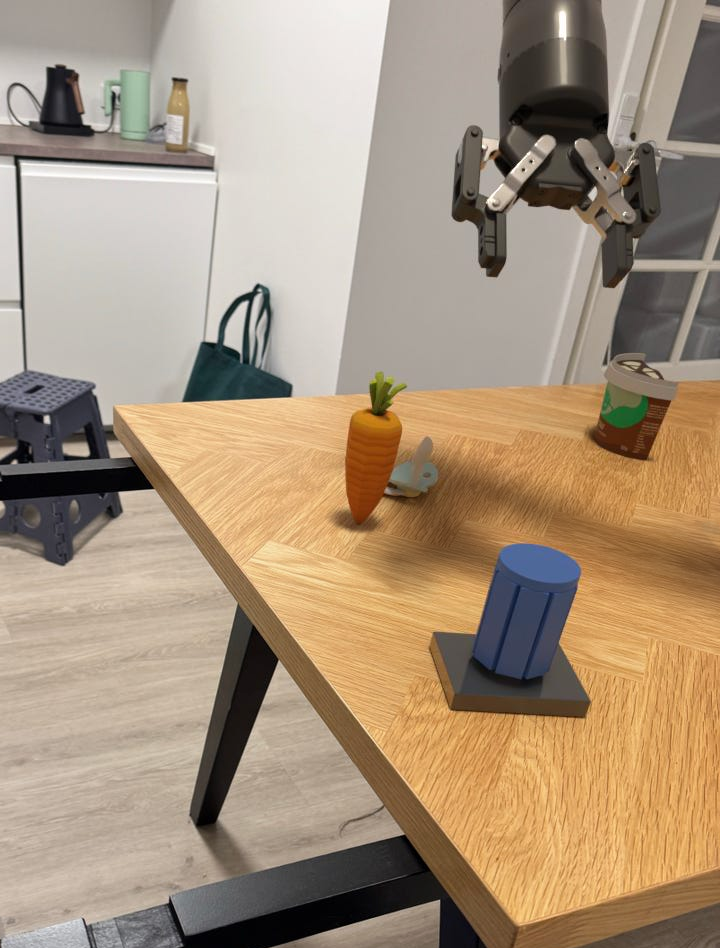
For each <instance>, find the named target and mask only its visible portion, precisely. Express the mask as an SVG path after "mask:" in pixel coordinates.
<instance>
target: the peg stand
mask: <svg viewBox="0 0 720 948" xmlns="http://www.w3.org/2000/svg"><path fill="white" fill-rule="evenodd" d="M475 636H476V633H466V632H450V631H435V630H434V631H432V634H431V637H430V642H429V649H430V652H431V655H432V658H433V661H434V663H435V664H434V665H435V668H436V670H437V673H438V676H439V679H440V683H441V685H442V687H443V691H444V694H445V696H446V700H447V703H448V705H449V709H450V710H453V711H454V710H455V711H471V712H491V713H507V714H525V715H542V716H557V717H558V716H560V717H574V718H585V717H586V716H587V713H588V711H589V708H590V705H591V703H592V700H591V699H590V697H589V696H590V695H588V692H587V691H586V689H585V688H584V685H583V684H582V681H581V680H580V678H579V677H578V675H577V673H576V671H575V669H574V668H573V666H572V664H571V662H570V661H569V658H568V656H567V655H566V653H565V651H564V649H563V648H562V646H561V644H560V642H559V643H558V646H557V649H556V652H555V655H554V658H553V661H552V663H551V666H550V669H549V672H547V673H546V674H545V675H541V676H537V677H534V678H530V679H526V678H524V677H523V676H522V679H518V678H514V677H510V676H506V675H502V674H497V673H495V669H493V670H489V669H488V668H487V667H485V666H484V665H483V664H482V663H481V662H480V661H478V660H477V659H476V658H475V657H474V653H472V649H473V644H474V639H475Z"/></svg>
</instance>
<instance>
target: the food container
mask: <svg viewBox="0 0 720 948" xmlns="http://www.w3.org/2000/svg"><path fill="white" fill-rule="evenodd" d="M646 356H647V353H642V352H641V353H640V352H627V353H620V354H617V355H615V356H614V358H613V359H612V360H611V361H610V362H609V364H608V365H607V368H606V369H605V371H604V373H603V377H604V379H605V380H607V382H606V387H605V391H604V396H603V399H602V403H601V408H600V412H599V416H598V420H597V424H596V428H595V431H594V432H595V433H594V435H593V439H594V442H595V443H596V444H597V445H598V446H600V447H601V448H603V449H605V450H607V451H609V452H611V453H614V454H617V455H619V456H624V457H627V458H632V459H637V460H644V461H647V460H648V459H649V455H650V453H651V450H652V448H653V446H654V444H655V441H656V439H657V437H658V434H659V431H660V429H661V426H662V424H663V423H664V420H665V417H666V415H667V412H668V410H669V407H670V405H671V403H672V401H673V402H674V401H675V400H676V395H677V392H678V389H679V388H678V386H679V381H674V380H668V379H665V378H664V375H662V373H661V372H660V371H659V370H658V369H656V368H653V367H650V366H649V365H648V364H647V363H646V362H645V359H646Z"/></svg>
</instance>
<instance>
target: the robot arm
mask: <svg viewBox="0 0 720 948" xmlns="http://www.w3.org/2000/svg"><path fill="white" fill-rule="evenodd" d="M602 5H603V4H602V0H501V43H500V48H499V56H498V68H497V77H496V79H497V84H498V126H499V127H498V134H499V135H498V137H499V138H494V137H487V136H484V132H483V131H484V130H482V128H481V127H480V126H478V125H475V124H473V125H472V124H471V125H469V126H468V127H467V128H466V129H465V132H464V134H463V137H462V139H461V142H460V144H459V146H458V148H457V151H456V153H455V159H454V162H455V163H454V171H453V172H454V173H453V175H454V176H453V185H452V186H453V187H452V201H451V214H450V216H451V218H452V219H453V220H454V221H455V222H457V223H464V222H466V221H468V222H470V223H471V224H473V225H474V226H475V228H476V229H477V262H478V264H479V267H480V269H485V275H486V277H487V278H498V277H499V276H500V274H501V272H502V270H504V267H505V265H506V263H507V256H508V255H507V254H508V250H507V248H508V247H507V244H508V243H507V237H508V236H507V214H508V213H509V212H510V211H511V210H512V209H513V208H514V207H515V205H516V204H517V203H518V202H519V201H520V200H522V201H524V202H526V203H527V207H531V208H543V207H550V208H553V209H557V210H561V211H570V210H571V209H573V210H574V212H575V213H576V214H577V216H578V217H579V218H580V220H581V221H582V222H583V223H584V224H586V225H592V226H593V227H594V228H595V230H596V231H597V232H598V233H599V235H600V236H601V237H602V239H603V241H602V243H601V244H600V245H601V274H602V277H601V278H602V279H601V280H602V287H603V288H606V289H615V288H616V287H617V286H618V285H619V284H620V283H621V282H622V281H623V280H624V278H625V277H626V276H627V275H628V274H629V273H630V272H631V270H632V269H633V266H634V264H635V260H634V240H638V239H641V238H642V237H643V236H644V235H645V233H646V232H647V230H648V229H649V227H650V226H651V225H652V224H653V223H654V222H655V221H656V220H657V218H659V216H660V214H661V213H662V208H661V207H662V206H661V199H660V192H659V191H660V190H659V180H658V173H657V164H656V163H657V162H656V153H655V148H654V146H653V145H652V144H650V143H649V142H641V143H639V144H638V146H637V147H636V149H635V150H634V151H631V150H615V148H614V146H613V144H612V143H611V141H610V138H609V134H608V131H609V122H610V101H609V100H610V98H609V70H608V68H609V67H608V41H607V30H606V29H607V28H606V24H605V20H604V16H603V6H602ZM491 160H493V162H494V166H495V167H496V168H497V170H498V171H499V172H500V174H501V175H502V176H503V178H504V179H503V181H502V182H501V183H500V184H499V186H498V187H497V188H496V189H495V190H494V191H493V192H492V194H490V196H489V197H488V196H486V195H484V194H481V193H480V185H481V184H480V183H481V171H483V170H484V169H485V166H486V165H487V163H488V161H491ZM614 174H615V175H614ZM615 176H616V177H615ZM621 188H622V189H621ZM594 189H596V191H597V192H596V196H595V197H594V199H593V200H592V199H591V197H590V196H589V195H590V193H591V192H592V191H593V190H594ZM621 190H622V192H621ZM622 193H623V195H622Z"/></svg>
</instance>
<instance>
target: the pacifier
mask: <svg viewBox="0 0 720 948" xmlns="http://www.w3.org/2000/svg"><path fill="white" fill-rule="evenodd" d="M433 451H434V443H433V440H432V439H431V437H429V436H427V435H426V436H425V437H424V438H423V439H422V440H421V442H420V444H419V445H418V447H417V448H416V450H415V452H414V454H413V456H412V459H411V460H408V461H406V462H403V463H401V464H400V465H398V466H396V467H394V468H393V471H392V474H391V477H390V479H389V482H388V483H390V484H393V485H395V486H396V488H393V487H389V486H387V487H386V489H385V491H384V494H385V495H388V496H402V497H406V498H416V497H418V496H419V495H420V494H421V493H428V491H429V488H430V487H432V486H433V485H435V484H436V483H437V480H438V478H439V471H438V468H437V467H436V465H435V464H434V463H433V462H431V461H429V459H430V457H432V453H433ZM426 475H428V477H425V476H426Z"/></svg>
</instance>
